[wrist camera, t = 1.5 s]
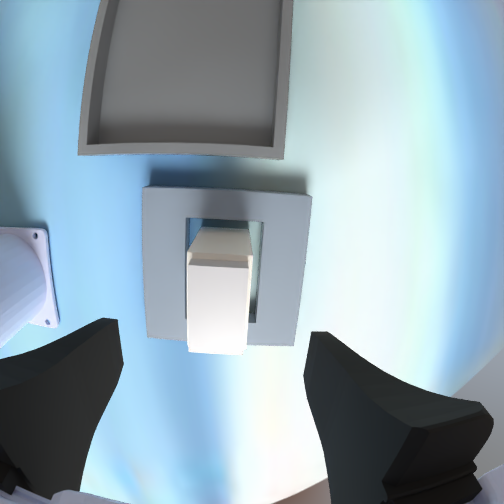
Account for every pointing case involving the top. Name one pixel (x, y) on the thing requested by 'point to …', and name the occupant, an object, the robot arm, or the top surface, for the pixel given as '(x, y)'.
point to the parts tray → (188, 78)
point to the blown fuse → (219, 290)
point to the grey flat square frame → (270, 260)
